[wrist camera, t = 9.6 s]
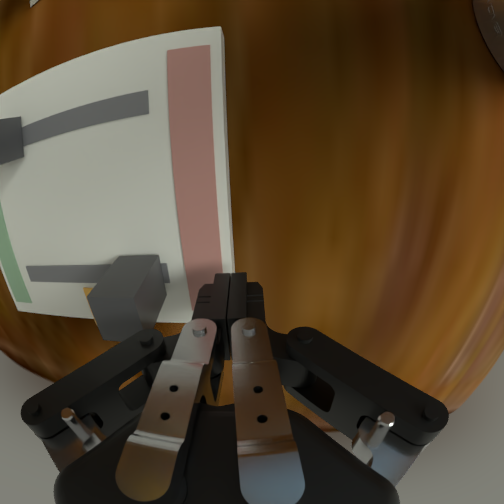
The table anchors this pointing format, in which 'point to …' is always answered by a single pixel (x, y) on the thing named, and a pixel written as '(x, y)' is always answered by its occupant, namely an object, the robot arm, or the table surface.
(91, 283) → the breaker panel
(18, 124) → the block
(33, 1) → the condiment
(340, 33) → the table surface
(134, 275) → the block
